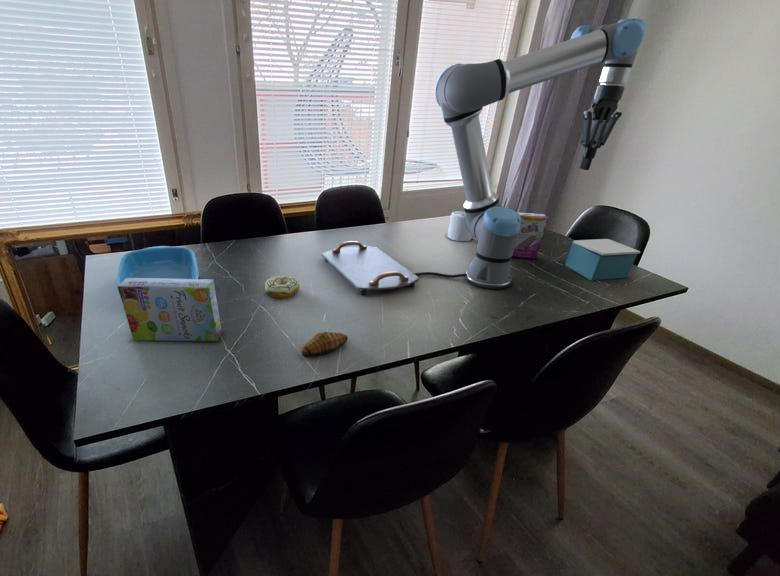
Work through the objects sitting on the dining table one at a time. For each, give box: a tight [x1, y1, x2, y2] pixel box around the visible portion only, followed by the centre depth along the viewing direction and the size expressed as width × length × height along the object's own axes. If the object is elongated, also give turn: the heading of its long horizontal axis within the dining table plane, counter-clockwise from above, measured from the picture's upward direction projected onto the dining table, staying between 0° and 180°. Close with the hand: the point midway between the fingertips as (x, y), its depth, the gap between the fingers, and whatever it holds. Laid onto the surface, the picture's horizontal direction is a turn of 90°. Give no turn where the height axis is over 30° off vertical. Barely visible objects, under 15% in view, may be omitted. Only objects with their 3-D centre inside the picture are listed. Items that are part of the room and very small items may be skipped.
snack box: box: [117, 278, 222, 342], centre depth 103 cm, size 21×6×15 cm, turn 92°
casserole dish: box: [115, 245, 200, 288], centre depth 129 cm, size 37×22×7 cm, turn 21°
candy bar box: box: [512, 211, 549, 260], centre depth 162 cm, size 11×5×16 cm, turn 84°
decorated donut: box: [264, 275, 300, 299], centre depth 130 cm, size 10×11×4 cm
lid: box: [572, 238, 641, 256], centre depth 151 cm, size 15×16×1 cm
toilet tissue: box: [447, 210, 476, 242], centre depth 181 cm, size 11×12×10 cm
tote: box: [564, 242, 638, 281], centre depth 154 cm, size 15×16×9 cm
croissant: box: [301, 330, 349, 358], centre depth 103 cm, size 14×7×5 cm, turn 128°
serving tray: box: [321, 240, 420, 296], centre depth 145 cm, size 39×23×6 cm, turn 25°
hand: (584, 169), depth 139 cm, fingers closed
